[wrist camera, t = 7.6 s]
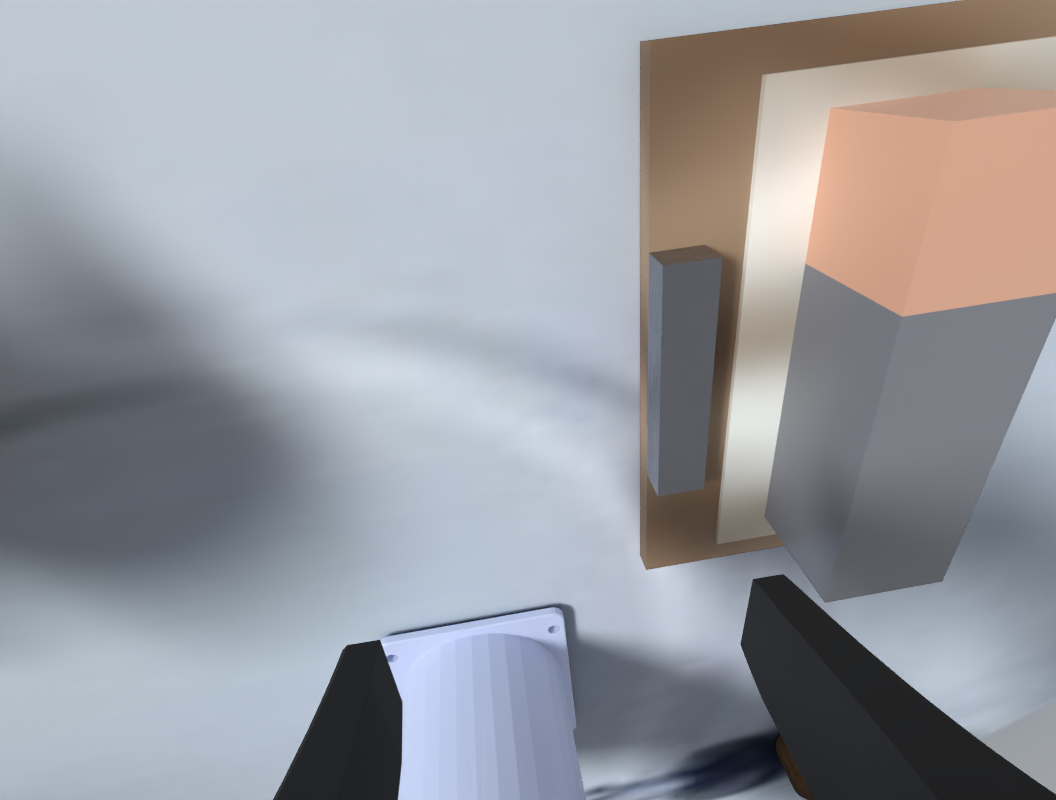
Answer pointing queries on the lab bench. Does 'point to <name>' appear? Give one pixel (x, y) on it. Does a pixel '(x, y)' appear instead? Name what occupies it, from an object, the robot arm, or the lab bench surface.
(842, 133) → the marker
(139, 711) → the lab bench surface
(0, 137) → the lab bench surface
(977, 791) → the robot arm
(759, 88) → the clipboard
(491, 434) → the lab bench surface
